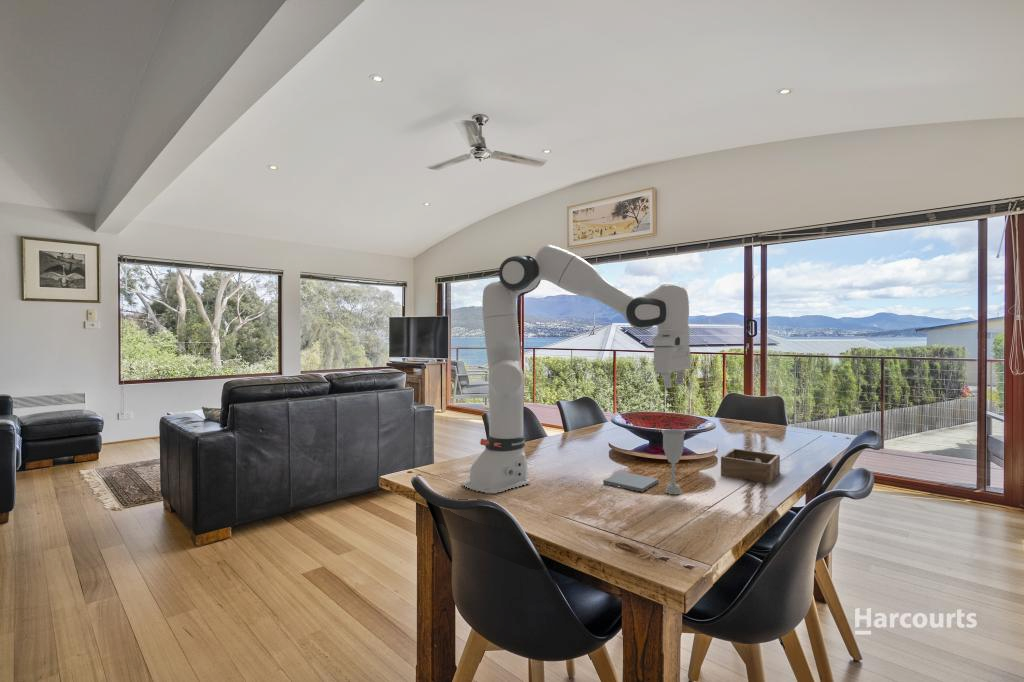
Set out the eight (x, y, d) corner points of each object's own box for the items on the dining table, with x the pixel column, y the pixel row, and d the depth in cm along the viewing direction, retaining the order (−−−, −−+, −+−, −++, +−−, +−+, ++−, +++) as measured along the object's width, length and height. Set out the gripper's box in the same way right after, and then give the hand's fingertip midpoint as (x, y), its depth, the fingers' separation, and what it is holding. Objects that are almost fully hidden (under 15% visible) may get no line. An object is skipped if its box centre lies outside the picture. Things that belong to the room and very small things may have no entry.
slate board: (642, 492, 144) (642, 488, 144) (603, 483, 152) (603, 480, 152) (658, 482, 153) (658, 478, 153) (621, 474, 161) (621, 471, 161)
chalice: (685, 497, 139) (685, 435, 139) (660, 494, 142) (660, 433, 141) (685, 489, 146) (685, 430, 146) (661, 487, 148) (662, 428, 148)
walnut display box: (769, 483, 151) (769, 464, 151) (720, 474, 161) (720, 456, 161) (779, 472, 163) (779, 455, 163) (733, 465, 172) (733, 448, 172)
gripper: (675, 338, 154) (675, 382, 154) (649, 340, 138) (650, 388, 138) (695, 338, 150) (696, 383, 150) (671, 340, 134) (671, 390, 134)
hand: (673, 386), depth 144 cm, fingers open, 8 cm apart
